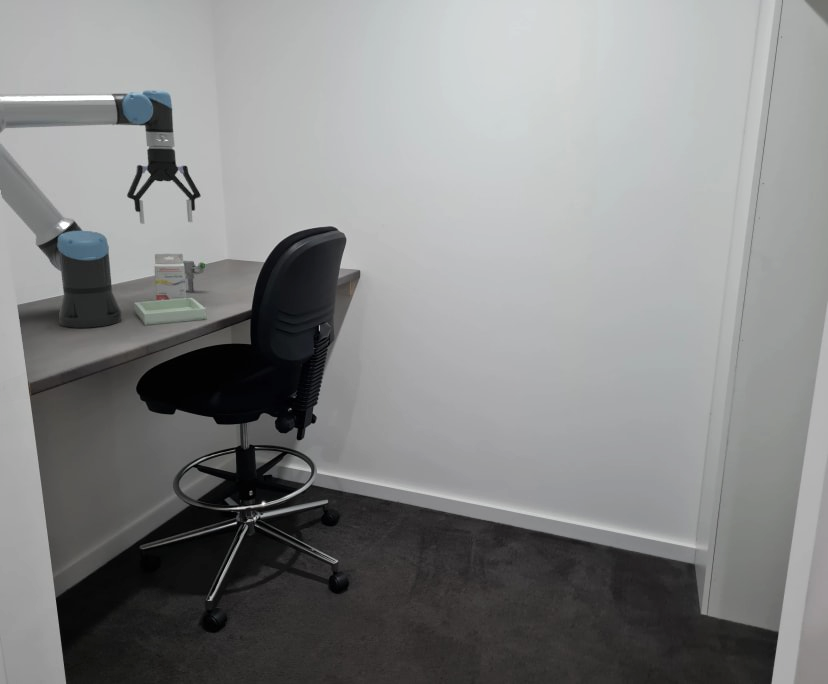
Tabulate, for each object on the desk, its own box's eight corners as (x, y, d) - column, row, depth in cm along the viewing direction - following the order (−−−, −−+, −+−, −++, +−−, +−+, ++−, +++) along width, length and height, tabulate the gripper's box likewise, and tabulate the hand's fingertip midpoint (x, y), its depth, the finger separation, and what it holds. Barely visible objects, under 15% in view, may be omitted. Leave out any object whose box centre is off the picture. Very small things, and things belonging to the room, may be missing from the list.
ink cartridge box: (156, 304, 201) (152, 255, 197) (157, 301, 206) (153, 253, 202) (186, 303, 204) (183, 255, 200) (186, 300, 208) (183, 253, 204)
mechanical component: (203, 293, 218) (201, 263, 216) (174, 291, 220) (172, 261, 218) (207, 292, 221) (205, 261, 218) (179, 290, 223) (177, 260, 220)
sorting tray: (145, 325, 177) (144, 314, 176) (135, 312, 190) (134, 302, 190) (206, 319, 185) (206, 308, 184) (192, 307, 198) (192, 297, 198)
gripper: (116, 147, 183) (123, 225, 189) (208, 149, 196) (212, 222, 201) (112, 146, 189) (119, 222, 195) (201, 149, 202) (206, 220, 208)
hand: (166, 222), depth 198 cm, fingers open, 13 cm apart
